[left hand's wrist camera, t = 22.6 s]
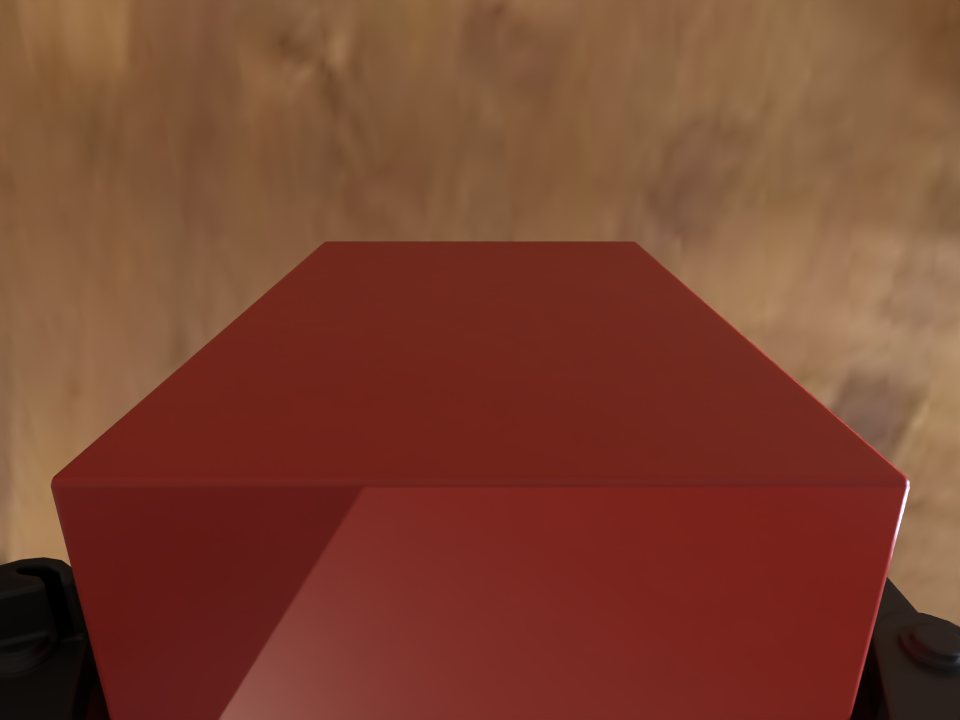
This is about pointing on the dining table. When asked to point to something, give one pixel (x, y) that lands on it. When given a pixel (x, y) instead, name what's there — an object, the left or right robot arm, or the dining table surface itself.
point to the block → (480, 505)
